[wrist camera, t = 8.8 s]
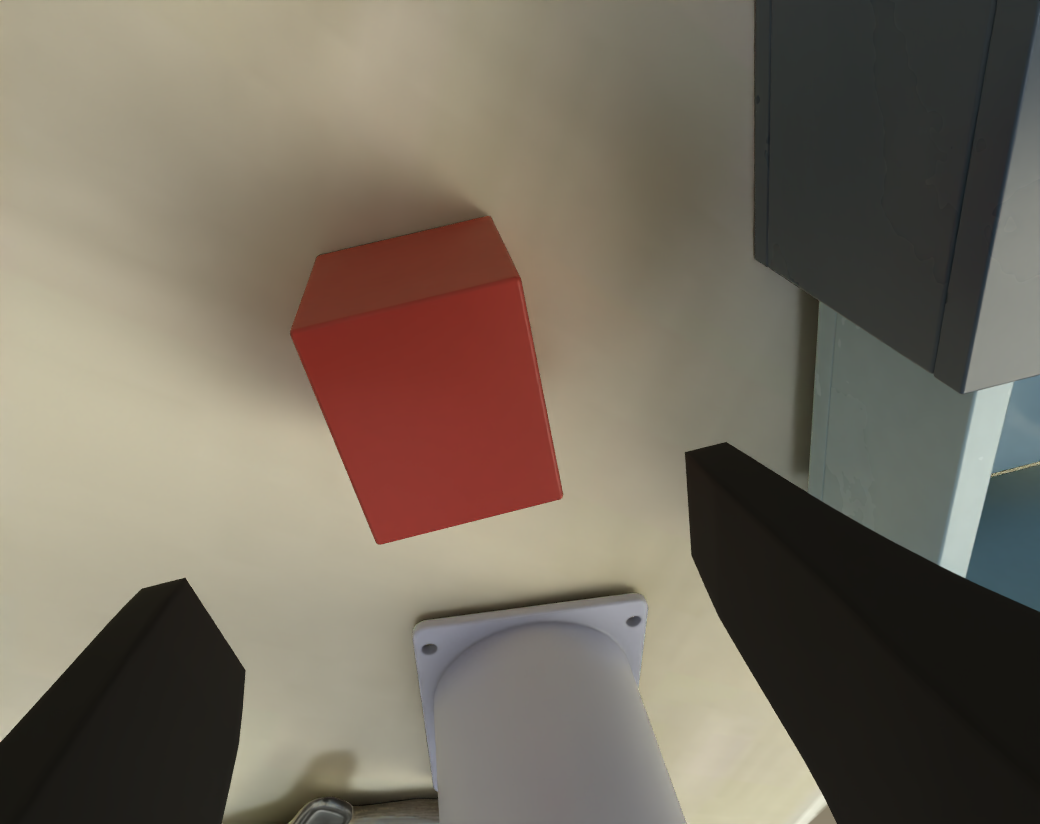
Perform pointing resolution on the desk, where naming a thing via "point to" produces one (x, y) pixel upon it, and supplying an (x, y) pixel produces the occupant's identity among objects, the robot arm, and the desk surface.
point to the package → (429, 378)
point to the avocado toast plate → (368, 812)
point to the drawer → (928, 459)
